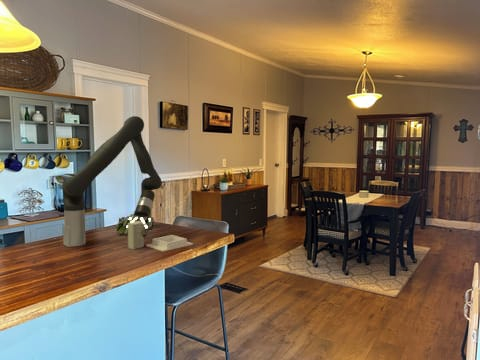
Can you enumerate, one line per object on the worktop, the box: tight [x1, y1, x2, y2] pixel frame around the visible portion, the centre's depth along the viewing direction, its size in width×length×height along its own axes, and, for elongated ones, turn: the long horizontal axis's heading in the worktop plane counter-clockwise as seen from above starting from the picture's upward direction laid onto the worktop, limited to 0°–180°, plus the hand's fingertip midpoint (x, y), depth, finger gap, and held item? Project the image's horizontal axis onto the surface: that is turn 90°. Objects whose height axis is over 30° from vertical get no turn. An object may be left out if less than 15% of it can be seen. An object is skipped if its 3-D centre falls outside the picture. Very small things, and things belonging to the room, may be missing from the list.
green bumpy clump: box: [114, 216, 131, 236], centre depth 205 cm, size 11×11×12 cm
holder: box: [145, 234, 194, 252], centre depth 182 cm, size 18×14×3 cm
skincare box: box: [127, 221, 145, 250], centre depth 177 cm, size 6×4×12 cm
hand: (135, 236), depth 176 cm, fingers open, 8 cm apart
